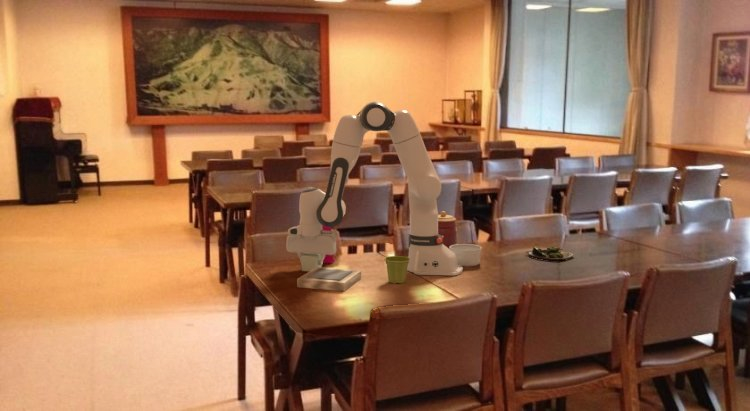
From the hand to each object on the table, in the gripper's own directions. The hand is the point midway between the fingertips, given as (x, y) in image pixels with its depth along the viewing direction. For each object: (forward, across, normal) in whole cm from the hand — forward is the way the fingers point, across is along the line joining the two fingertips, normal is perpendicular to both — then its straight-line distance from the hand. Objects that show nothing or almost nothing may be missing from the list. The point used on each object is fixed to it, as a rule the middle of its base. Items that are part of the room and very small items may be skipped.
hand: (311, 264), depth 266 cm
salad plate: (+3, -88, -51) cm, 102 cm away
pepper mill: (+2, -1, -14) cm, 14 cm away
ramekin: (+3, -56, -29) cm, 63 cm away
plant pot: (+2, -37, +7) cm, 38 cm away
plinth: (+2, -14, +16) cm, 21 cm away
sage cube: (+2, 0, 0) cm, 2 cm away
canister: (+3, -42, -51) cm, 66 cm away
